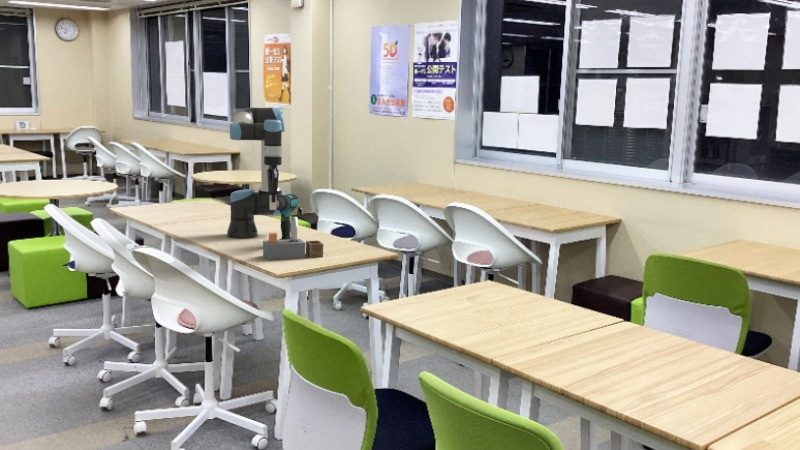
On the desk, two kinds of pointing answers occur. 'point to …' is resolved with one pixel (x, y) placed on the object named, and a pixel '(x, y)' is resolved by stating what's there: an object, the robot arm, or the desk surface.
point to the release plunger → (273, 237)
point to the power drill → (286, 212)
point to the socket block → (284, 249)
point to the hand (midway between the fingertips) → (272, 209)
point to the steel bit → (293, 229)
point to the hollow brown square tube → (314, 248)
